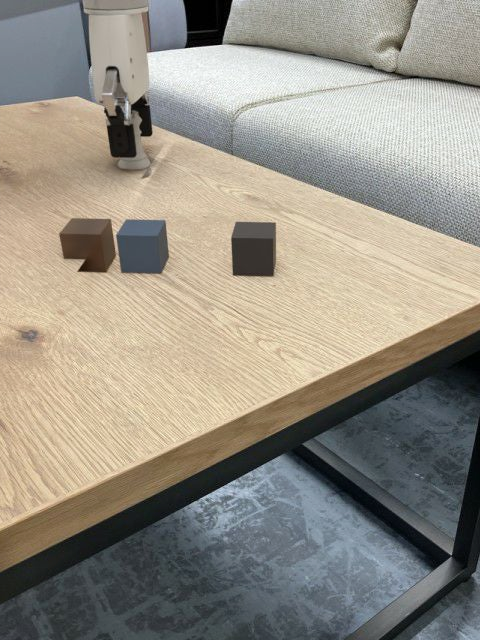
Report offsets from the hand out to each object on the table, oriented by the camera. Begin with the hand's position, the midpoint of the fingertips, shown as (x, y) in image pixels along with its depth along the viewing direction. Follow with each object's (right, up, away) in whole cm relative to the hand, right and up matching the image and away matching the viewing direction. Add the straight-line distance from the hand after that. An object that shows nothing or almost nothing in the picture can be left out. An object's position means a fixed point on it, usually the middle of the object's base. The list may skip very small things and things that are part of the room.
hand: (132, 145), depth 92 cm
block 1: (0, -19, -21) cm, 28 cm away
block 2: (+6, -19, -21) cm, 29 cm away
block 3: (+17, -19, -22) cm, 34 cm away
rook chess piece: (0, -3, +2) cm, 4 cm away
